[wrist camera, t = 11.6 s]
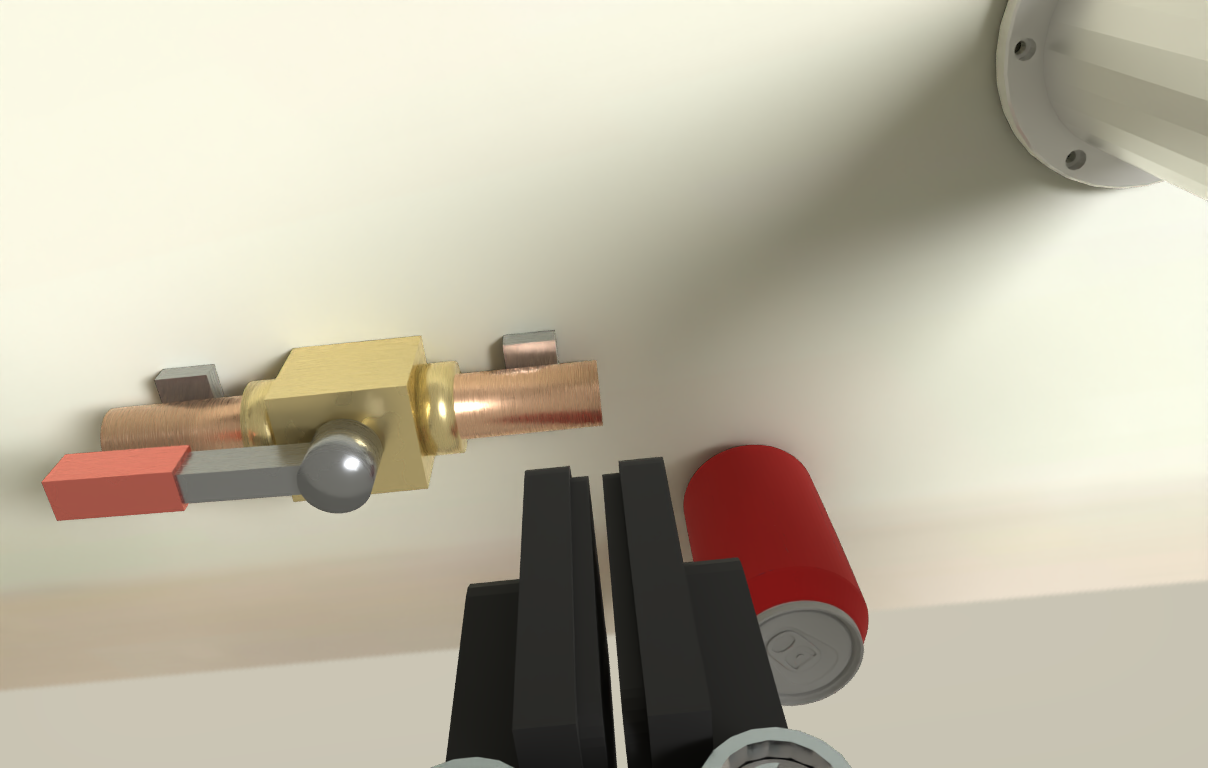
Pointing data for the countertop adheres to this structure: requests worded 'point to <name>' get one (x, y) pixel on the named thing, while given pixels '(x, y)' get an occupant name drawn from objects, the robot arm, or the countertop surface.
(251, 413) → the pipework
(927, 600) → the countertop surface
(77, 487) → the lever
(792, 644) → the beverage can
